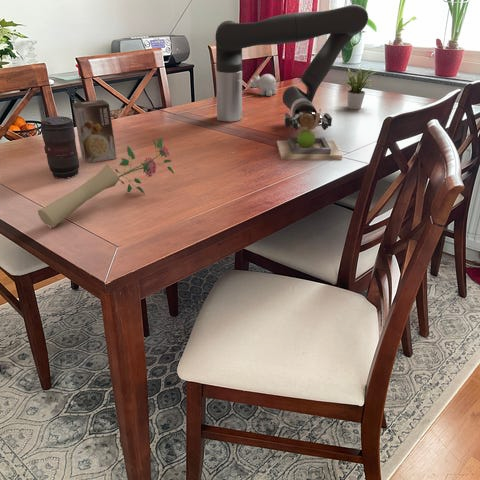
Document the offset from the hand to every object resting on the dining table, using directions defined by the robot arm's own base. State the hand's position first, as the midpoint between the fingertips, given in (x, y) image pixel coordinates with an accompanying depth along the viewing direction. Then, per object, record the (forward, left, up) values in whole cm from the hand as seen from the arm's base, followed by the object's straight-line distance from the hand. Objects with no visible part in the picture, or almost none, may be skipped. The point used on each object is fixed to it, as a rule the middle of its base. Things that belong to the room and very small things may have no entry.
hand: (311, 126), depth 145 cm
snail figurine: (0, +2, -7) cm, 8 cm away
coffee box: (-63, -3, -8) cm, 64 cm away
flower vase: (-53, -35, -9) cm, 64 cm away
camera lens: (-69, -16, -8) cm, 71 cm away
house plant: (+28, +55, -8) cm, 62 cm away
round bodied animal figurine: (-9, +79, -8) cm, 80 cm away
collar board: (0, +2, -8) cm, 8 cm away
